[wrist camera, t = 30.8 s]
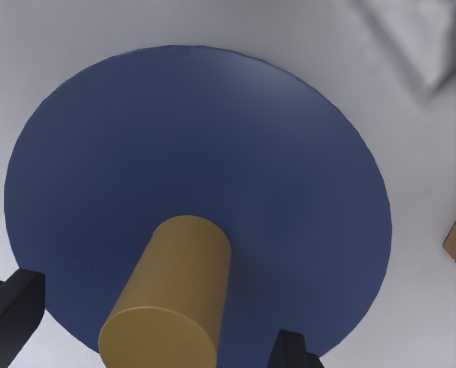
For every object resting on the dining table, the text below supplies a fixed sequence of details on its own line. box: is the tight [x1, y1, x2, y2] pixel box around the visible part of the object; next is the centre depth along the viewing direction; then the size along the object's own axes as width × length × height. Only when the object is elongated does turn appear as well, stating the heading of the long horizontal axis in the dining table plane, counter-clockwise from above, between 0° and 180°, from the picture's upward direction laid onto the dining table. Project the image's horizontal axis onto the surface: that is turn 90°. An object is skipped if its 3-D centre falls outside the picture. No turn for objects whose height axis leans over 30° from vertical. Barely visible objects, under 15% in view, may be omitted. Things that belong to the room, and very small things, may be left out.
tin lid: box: [4, 45, 392, 368], centre depth 14 cm, size 17×17×7 cm
